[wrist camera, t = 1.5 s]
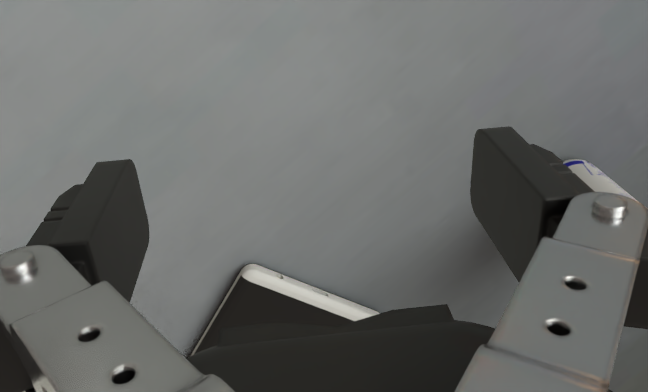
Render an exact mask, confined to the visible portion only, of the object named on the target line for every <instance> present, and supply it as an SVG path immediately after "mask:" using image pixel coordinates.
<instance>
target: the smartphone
mask: <svg viewBox="0 0 648 392" xmlns="http://www.w3.org/2000/svg"><path fill="white" fill-rule="evenodd" d="M377 314H379V313H378V312H377V311H374V310H372V309H369V308H367V307H364V306H361V305H359V304H356V303H354V302H351V301H349V300H346V299H344V298H341V297H338V296H336V295H333V294H331V293H328V292H326V291H323V290H320V289H318V288H315V287H313V286H310V285H308V284H305V283H303V282H300V281H297V280H295V279H292V278H290V277H287V276H285V275H282V274H280V273H277V272H274V271H272V270H269V269H267V268H264V267H262V266H259V265H256V264H249V265H246V266H245V267H243V269H242V270H241V272H240V273H239V275H238V277H237V278H236V280H235V282H234V283H233V285H232V287H231V288H230V290H229V292H228V294H227V295H226V297H225V299H224V300H223V302H222V304H221V305H220V307H219V309H218V310H217V312H216V314H215V315H214V317H213V319H212V320H211V322H210V324H209V325H208V327H207V329H206V331H205V332H204V334H203V336H202V337H201V339H200V341H199V342H198V344H197V346H196V347H195V349H194V351H193V352H192V354H191V355H193V354H196V353H198V352H200V351H203V350H205V349H208V348H211V347H214V346H217V345H218V339H219V329H220V328H227V327H236V326H246V325H255V324H265V323H274V322H280V323H293V324H307V325H321V326H339V325H343V324H347V323H350V322H354V321H357V320H360V319H364V318H367V317H371V316H374V315H377Z"/></svg>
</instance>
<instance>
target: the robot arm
mask: <svg viewBox="0 0 648 392" xmlns="http://www.w3.org/2000/svg"><path fill="white" fill-rule="evenodd" d="M470 195H471V203H472V208H473V211H474V213H475V215H476V217H477V218H478V220H479V221H480V223H481V224H482V226H483V227H484V229H485V231H486V232H487V234H488V235H489V237H490V238H491V240H492V241H493V243H494V244H495V246H496V248H497V249H498V251H499V252H500V254H501V255H502V257H503V258H504V260H505V261H506V263H507V265H508V266H509V268H510V269H511V271H512V272H513V274H514V275H515V277H516V279H517V280H518V282H519V284H518V286H517V288H516V290H515V292H514V294H513V296H512V298H511V299H510V301H509V303H508V305H507V307H506V309H505V311H504V313H503V315H502V317H501V319H500V321H499V323H498V325H497V327H496V328H495V329H494V328H491V327H488V326H484V325H480V324H476V323H471V322H465V321H457V320H454V319H453V317H452V314H451V312H450V310H449V308H448V305H447V304H446V305H436V306H427V307H417V308H408V309H398V310H391V311H387V312H384V313H381V314H377V315H374V316H371V317H367V318H364V319H360V320H357V321H354V322H350V323H347V324H343V325H339V326H321V325H307V324H293V323H280V322H274V323H265V324H255V325H246V326H236V327H227V328H220V329H219V339H218V345H217V346H214V347H211V348H208V349H205V350H203V351H200V352H198V353H196V354H193V355H191V356H189V357H187V358H185V357H184V356H183V355H182V354H181V353H180V352H179V351H178V350H177V349H176V348H175V347H174V346H173V345H172V344H171V343H170V342H169V341H168V340H167V339H166V338H165V337H164V336H163V335H162V334H161V333H160V332H159V331H158V330H156V329H155V328H154V327H153V326H152V325H151V324H150V323H149V322H148V321H147V320H146V319H145V318H144V317H143V316H142V315H141V314H140V313H139V312H138V311H137V310H136V309H135V308H134V307H133V306H132V305H131V304H130V300H131V297H132V294H133V291H134V287H135V284H136V281H137V278H138V275H139V272H140V269H141V266H142V263H143V259H144V256H145V253H146V250H147V247H148V243H149V225H148V219H147V214H146V210H145V206H144V202H143V197H142V193H141V189H140V185H139V180H138V176H137V172H136V168H135V165H134V163H133V161H132V160H130V159H128V160H117V161H106V162H97V163H96V164H95V166H94V167H93V169H92V171H91V172H90V174H89V176H88V177H87V179H86V181H85V182H84V184H80V185H74V186H73V187H72V188H70V189H69V190H67V191H66V192H65V193H63V194H62V195H60V196H59V197H58V198H57V200H56V202H55V203H54V205H53V206H52V208H51V211H49V212H48V214H47V215H46V217H45V218H44V222H42V223H41V224H40V226H39V227H38V229H37V230H36V232H35V233H34V235H33V236H32V238H31V239H30V241H29V242H28V244H27V245H26V246H25V247H21V248H17V249H13V250H11V251H8V252H5V253H3V254H1V255H0V392H613V391H611V390H609V389H608V387H609V383H610V378H611V374H612V370H613V366H614V362H615V358H616V354H617V350H618V346H619V342H620V338H621V334H622V330H623V326H626V327H635V328H643V329H648V209H647V208H646V207H645V206H644V205H643V204H641V203H640V202H638V201H636V200H634V199H632V198H629V197H626V196H623V195H619V194H615V193H608V192H595V191H594V190H592V189H591V188H590V187H589V186H588V185H587V184H586V183H585V182H584V181H583V180H582V179H580V178H579V177H578V176H577V175H576V174H575V173H572V170H571V169H570V168H568V167H567V166H566V165H563V162H562V161H561V160H560V159H559V158H558V157H557V156H555V155H554V154H553V153H552V152H550V151H548V150H546V149H543V148H541V147H539V146H537V145H534V144H531V145H529V144H528V143H527V142H526V141H525V140H524V139H523V138H522V137H521V136H520V135H519V134H518V133H517V132H516V131H515V130H514V129H513V128H512V127H498V128H487V129H479V130H477V132H476V134H475V138H474V148H473V161H472V175H471V189H470Z"/></svg>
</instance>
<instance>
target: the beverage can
mask: <svg viewBox="0 0 648 392" xmlns="http://www.w3.org/2000/svg"><path fill="white" fill-rule="evenodd" d="M563 165H566V166H567V167H568V168H570V169H571V170H572V173H575V174H576V175H577V176H578V177H579V178H580V179H582V180H583V181H584V182H585V183H586V184H587V185H588V186H589V187H590V188H591V189H592V190H594V191H595V192H608V193H615V194H619V195H623V196H626V197H629V198H632V199H634V198H633V197H632V196H631V195H629V194H628V193H627V192H626V191H625V190H623V189H622V188H621V187H620V186H619V185H617V184H616V183H615V182H614V181H613V180H611V179H610V178H609V177H608V176H607V175H605V174H604V173H603V172H602V171H600V170H599V169H598V168H597V167H596V166H594V165H593V164H591V163H589V162H587V161H585V160H579V159H573V160H567V161H564V162H563ZM634 200H635V199H634ZM636 201H637V200H636Z"/></svg>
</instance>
